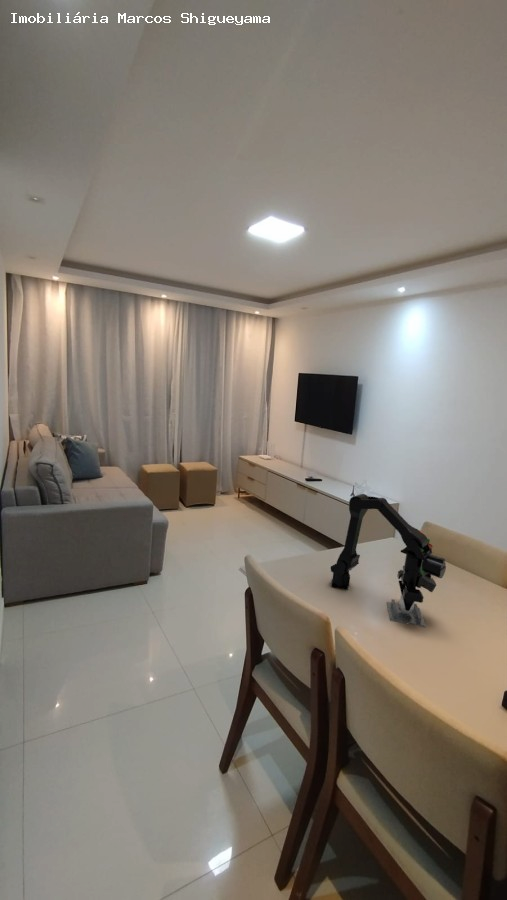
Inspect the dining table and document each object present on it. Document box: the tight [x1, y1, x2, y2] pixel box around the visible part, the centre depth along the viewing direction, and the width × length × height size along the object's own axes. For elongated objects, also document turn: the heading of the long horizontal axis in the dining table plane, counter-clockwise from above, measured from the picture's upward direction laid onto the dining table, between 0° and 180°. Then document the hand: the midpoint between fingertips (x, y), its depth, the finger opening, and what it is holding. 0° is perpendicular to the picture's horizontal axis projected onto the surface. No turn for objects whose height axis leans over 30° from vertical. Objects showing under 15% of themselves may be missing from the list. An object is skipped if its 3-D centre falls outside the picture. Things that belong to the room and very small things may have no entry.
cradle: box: [386, 598, 426, 628], centre depth 150 cm, size 12×12×2 cm
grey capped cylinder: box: [398, 595, 416, 614], centre depth 149 cm, size 5×5×6 cm
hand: (406, 606), depth 150 cm, fingers closed on grey capped cylinder, 5 cm apart
